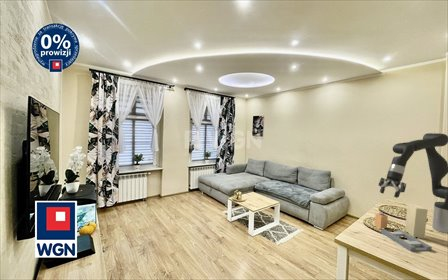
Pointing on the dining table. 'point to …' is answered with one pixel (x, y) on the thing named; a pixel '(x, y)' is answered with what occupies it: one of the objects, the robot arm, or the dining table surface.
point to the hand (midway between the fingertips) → (388, 195)
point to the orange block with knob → (381, 220)
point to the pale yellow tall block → (416, 220)
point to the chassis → (411, 244)
